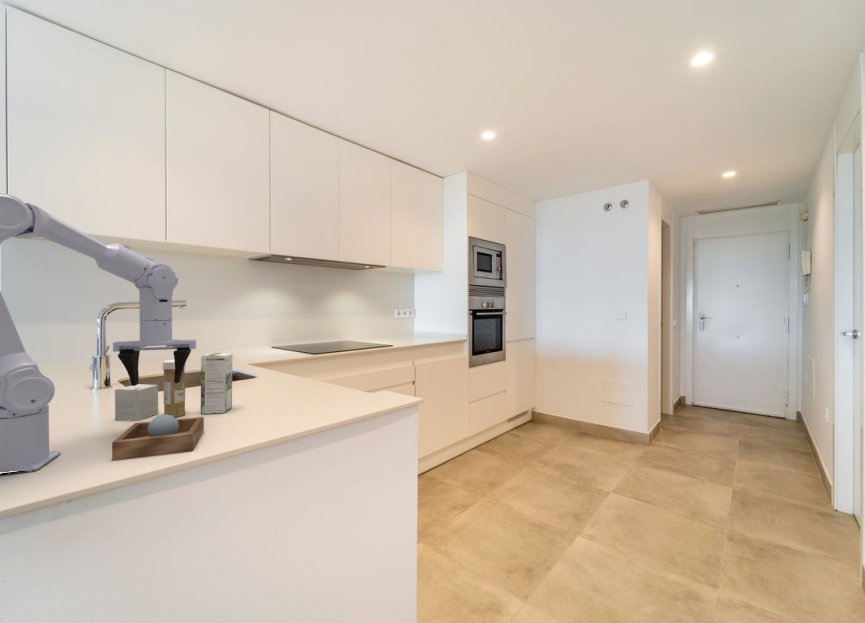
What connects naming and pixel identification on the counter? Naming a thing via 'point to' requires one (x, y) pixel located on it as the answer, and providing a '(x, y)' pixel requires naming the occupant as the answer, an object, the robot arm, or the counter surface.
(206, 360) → the syrup box
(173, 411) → the sprinkles bottle
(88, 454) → the counter surface
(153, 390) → the skincare box
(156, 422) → the ball
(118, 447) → the tray
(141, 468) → the counter surface
